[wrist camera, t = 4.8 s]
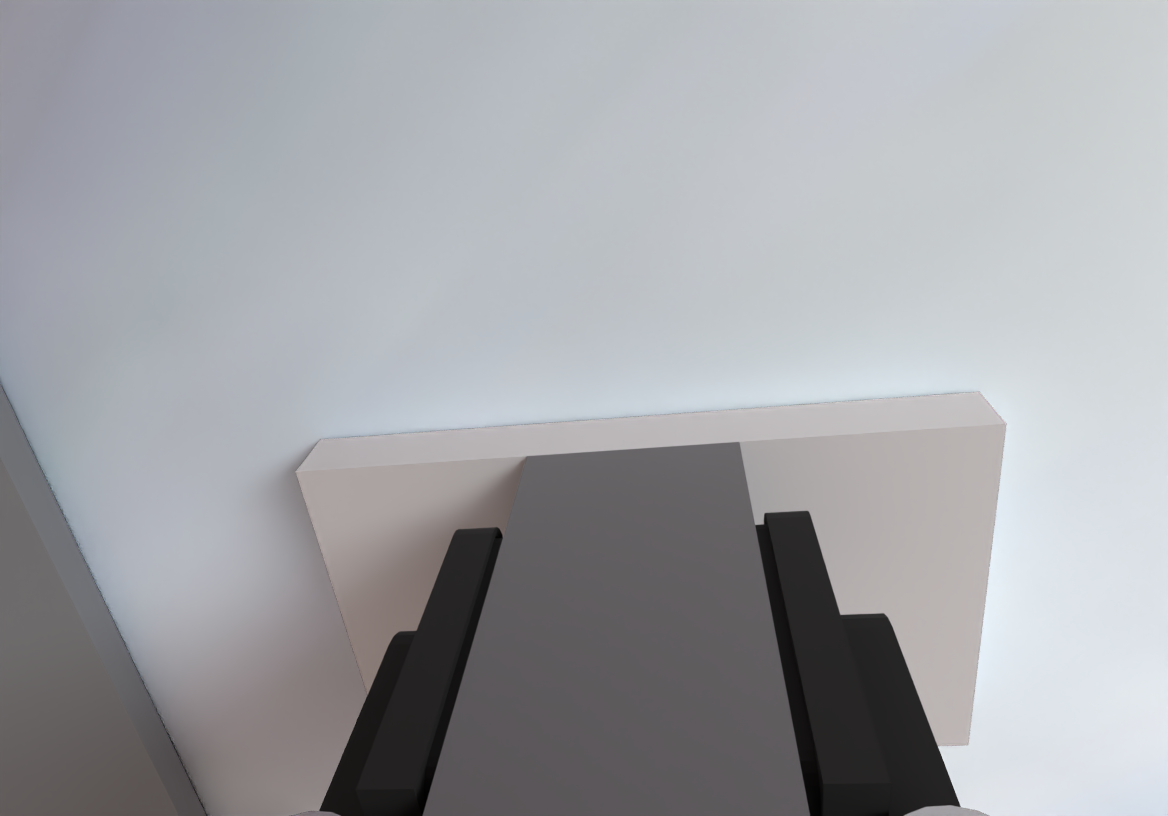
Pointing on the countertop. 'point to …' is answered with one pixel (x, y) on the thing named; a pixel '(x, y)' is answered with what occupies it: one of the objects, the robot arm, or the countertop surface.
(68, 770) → the mat
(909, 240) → the countertop surface
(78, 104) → the countertop surface
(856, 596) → the white base with post
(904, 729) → the robot arm
